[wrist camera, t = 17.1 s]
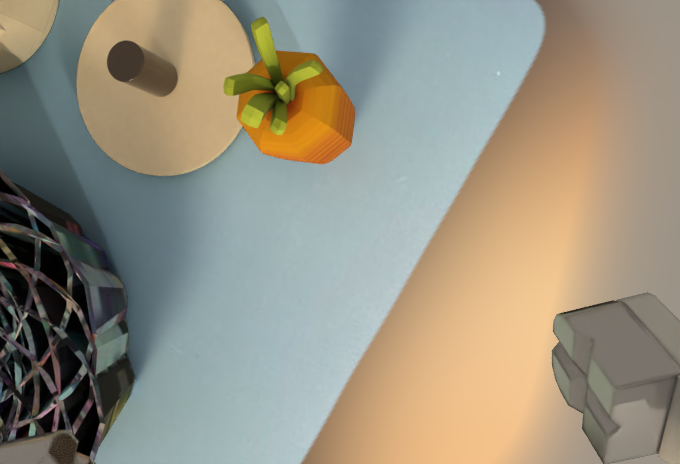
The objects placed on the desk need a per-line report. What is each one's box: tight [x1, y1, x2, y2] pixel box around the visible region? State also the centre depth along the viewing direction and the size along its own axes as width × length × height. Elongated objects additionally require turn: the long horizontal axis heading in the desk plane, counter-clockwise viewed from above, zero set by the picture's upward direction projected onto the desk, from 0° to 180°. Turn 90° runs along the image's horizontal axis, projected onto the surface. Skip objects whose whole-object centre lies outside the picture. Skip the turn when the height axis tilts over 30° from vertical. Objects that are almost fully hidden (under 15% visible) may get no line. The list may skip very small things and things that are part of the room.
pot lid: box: [76, 0, 255, 176], centre depth 34 cm, size 13×13×5 cm
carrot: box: [223, 17, 355, 164], centre depth 27 cm, size 5×5×15 cm
